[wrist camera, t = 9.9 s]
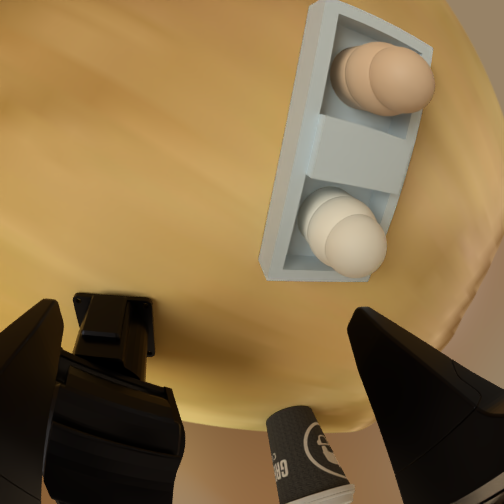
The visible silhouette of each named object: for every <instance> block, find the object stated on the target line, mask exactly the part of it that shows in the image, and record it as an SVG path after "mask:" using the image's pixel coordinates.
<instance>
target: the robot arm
mask: <svg viewBox="0 0 504 504" xmlns="http://www.w3.org/2000/svg"><path fill="white" fill-rule="evenodd" d="M78 299H80V300H78ZM73 303H74V307H75V312H76V316H77V320H78V323H79V327H80V330H79V333H78V336H77V339H76V343H75V346H74V350H73V353H69V352H67V351H65V350H63V348H62V347H61V342H62V336H63V329H64V323H63V319H62V315H61V312H60V308H59V304H58V302H57V301H56V300H54V299H43V300H41V301H40V302H38V303H37V304H36V305H35V306H33V307H32V308H31V309H29V310H28V311H27V312H25V313H24V314H23V315H22V316H20V317H19V318H18V319H17V320H15V321H14V322H13V323H12V324H10V325H9V326H8V327H7V328H5V329H4V330H3V331H2V332H1V333H0V504H41V484H42V475H43V477H44V483H45V485H46V488H47V490H48V493H49V495H50V497H51V498H52V499H54V500H55V501H56V503H57V504H172V498H173V487H174V481H175V477H176V473H177V470H178V467H179V465H180V462H181V460H182V457H183V453H184V448H185V431H184V427H183V424H182V420H181V417H180V414H179V411H178V408H177V405H176V401H175V398H174V395H173V391H172V389H171V388H168V387H160V386H157V385H154V384H151V383H147V382H145V379H146V361H147V357H152V356H154V355H155V343H154V327H153V308H152V301H151V299H149V298H146V297H129V296H113V295H99V294H87V293H76V294H75V295H74V297H73ZM144 303H146V304H148V305H144ZM347 333H348V336H349V340H350V343H351V347H352V350H353V354H354V358H355V361H356V365H357V368H358V372H359V374H360V377H361V380H362V382H363V385H364V388H365V390H366V393H367V396H368V398H369V401H370V404H371V407H372V409H373V412H374V415H375V418H376V420H377V423H378V426H379V428H380V432H381V434H382V437H383V440H384V443H385V446H386V449H387V452H388V455H389V458H390V461H391V464H392V467H393V470H394V473H395V477H396V480H397V483H398V487H399V490H400V493H401V497H402V500H403V503H404V504H504V389H502V388H500V387H498V386H496V385H495V384H493V383H491V382H489V381H487V380H486V379H484V378H482V377H480V376H479V375H476V374H475V373H473V372H471V371H470V370H468V369H467V368H465V367H463V366H462V365H460V364H459V363H457V362H456V361H454V360H452V359H450V358H449V357H448V356H446V355H445V354H443V353H441V352H440V351H438V350H437V349H435V348H434V347H432V346H430V345H429V344H427V343H426V342H424V341H423V340H421V339H419V338H418V337H416V336H415V335H413V334H412V333H410V332H408V331H407V330H405V329H404V328H402V327H400V326H399V325H397V324H396V323H394V322H392V321H391V320H389V319H388V318H386V317H384V316H383V315H381V314H380V313H378V312H376V311H375V310H373V309H372V308H370V307H358V308H357V309H356V310H355V311H354V313H353V316H352V318H351V320H350V322H349V324H348V327H347Z"/></svg>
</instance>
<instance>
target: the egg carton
mask: <svg viewBox="0 0 504 504" xmlns="http://www.w3.org/2000/svg"><path fill="white" fill-rule="evenodd" d="M370 42H386V43H390V44H392V45H395V46H399V47H405V48H408V49H410V50H412V51H414V52H416V53H417V54H419V55H420V56H421V57H422V58H423V59H424V60H425V61H426V62H427V63H428V65H429V66H430V67H431V60H432V53H433V48H432V47H431V46H429V45H428V44H426V43H424V42H423V41H421V40H419V39H418V38H416V37H414V36H412V35H411V34H409V33H407V32H405V31H404V30H402V29H400V28H398V27H396V26H394V25H392V24H390V23H388V22H386V21H384V20H382V19H380V18H378V17H376V16H374V15H372V14H370V13H367V12H365V11H363V10H361V9H358V8H356V7H354V6H351V5H349V4H346V3H344V2H341V1H339V0H319V1H317V2H315V3H313V4H312V5H310V6H309V10H308V15H307V20H306V26H305V31H304V36H303V41H302V46H301V52H300V57H299V62H298V67H297V72H296V77H295V82H294V87H293V92H292V97H291V103H290V108H289V113H288V118H287V123H286V128H285V133H284V138H283V143H282V148H281V152H280V157H279V162H278V167H277V172H276V177H275V182H274V187H273V192H272V197H271V202H270V206H269V211H268V216H267V221H266V226H265V231H264V235H263V240H262V245H261V250H260V255H259V259H258V260H259V263H260V265H261V268H262V270H263V273H264V275H265V278H266V280H267V281H316V282H368V280H369V278H370V275H371V274H370V275H368V276H365V277H362V278H349V277H345V276H343V275H341V274H339V273H338V272H336V271H335V270H334V269H333V268H332V267H330V266H328V265H326V264H324V263H322V262H321V261H320V260H319V259H318V258H317V257H316V256H315V255H314V253H313V252H312V250H311V248H310V246H309V244H308V242H307V241H306V240H305V238H304V237H303V236H302V234H301V233H300V231H299V228H298V224H297V216H298V211H299V208H300V206H301V204H302V203H303V201H304V200H305V198H306V197H307V196H308V195H309V194H311V193H312V192H313V191H315V190H317V189H319V188H322V187H326V186H334V187H338V188H341V189H343V190H344V191H346V192H347V193H348V194H350V195H351V196H353V197H354V198H356V199H358V200H360V201H361V202H363V203H364V204H365V205H367V206H368V207H369V208H370V210H371V211H372V212H373V214H374V216H375V218H376V220H377V222H378V223H379V225H380V226H381V227H382V229H383V231H384V233H385V236H386V234H387V232H388V229H389V226H390V223H391V220H392V217H393V214H394V212H395V209H396V206H397V202H398V199H399V196H400V193H401V190H402V187H403V183H404V180H405V177H406V173H407V170H408V166H409V163H410V159H411V156H412V152H413V148H414V144H415V140H416V136H417V132H418V128H419V124H420V119H421V115H422V110H423V109H421V110H419V111H417V112H414V113H406V114H404V113H402V114H399V115H396V116H380V115H376V114H373V113H371V112H368V111H363V110H358V109H354V108H351V107H349V106H347V105H346V104H345V103H343V102H342V101H341V100H340V99H339V98H338V96H337V95H336V93H335V92H334V90H333V87H332V84H331V80H330V68H331V64H332V62H333V60H334V58H335V57H336V55H337V54H338V53H339V52H340V51H342V50H344V49H346V48H349V47H354V46H360V45H363V44H366V43H370Z"/></svg>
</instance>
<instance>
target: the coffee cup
mask: <svg viewBox="0 0 504 504" xmlns="http://www.w3.org/2000/svg"><path fill="white" fill-rule="evenodd" d="M266 426H267V432H268V437H269V444H270V449H271V455H272V461H273V467H274V472H275V478H276V484H277V490H278V496H279V502H280V504H349V503H351V502H353V493H354V492H355V491H354V490H355V486H354V484H350V483H349V481H348V480H347V478H346V476H345V474H344V472H343V470H342V468H341V466H340V465H339V463H338V461H337V459H336V457H335V455H334V453H333V451H332V449H331V447H330V445H329V443H328V441H327V439H326V437H325V435H324V433H323V431H322V429H321V427H320V426H319V424H318V422H317V420H316V418H315V416H314V414H313V412H312V410H311V408H309V407H307V406H294V407H289V408H286V409H283V410H280V411H278V412H276V413H274V414H273V415H271V416H270V417H269V418H268V419H267V421H266Z"/></svg>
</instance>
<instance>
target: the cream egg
mask: <svg viewBox="0 0 504 504" xmlns="http://www.w3.org/2000/svg"><path fill="white" fill-rule="evenodd" d="M297 224H298V228H299V231H300V233H301V234H302V236H303V237H304V238H305V240H306V241H307V242H308V244H309V246H310V248H311V250H312V252H313V253H314V255H315V256H316V257H317V258H318V259H319V260H320V261H321V262H322V263H324V264H326V265H328V266H330V267H332V268H333V269H334V270H335V271H336V272H338V273H339V274H341V275H343V276H345V277H349V278H362V277H365V276H368V275H370V274H372V273H373V272H375V271H376V270H377V269H378V268H379V267H380V265H381V264H382V262H383V261H384V259H385V256H386V252H387V240H386V236H385V233H384V231H383V229H382V227H381V226H380V225H379V223H378V222H377V220H376V218H375V216H374V214H373V212H372V211H371V210H370V208H369V207H368V206H367V205H365V204H364V203H363V202H361V201H360V200H358V199H356V198H354V197H353V196H351V195H350V194H348V193H347V192H346V191H344V190H343V189H341V188H338V187H334V186H326V187H322V188H319V189H317V190H315V191H313V192H312V193H311V194H309V195H308V196H307V197H306V198H305V200H304V201H303V203H302V204H301V206H300V208H299V211H298V216H297Z"/></svg>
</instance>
